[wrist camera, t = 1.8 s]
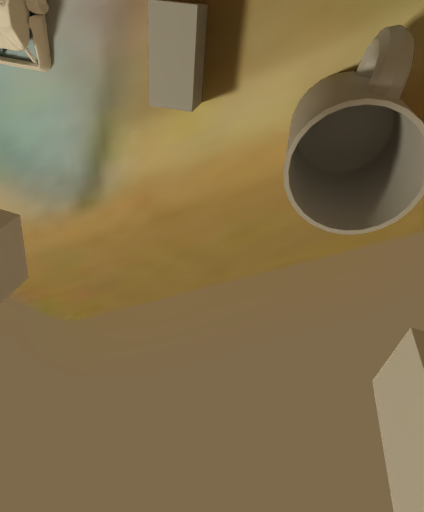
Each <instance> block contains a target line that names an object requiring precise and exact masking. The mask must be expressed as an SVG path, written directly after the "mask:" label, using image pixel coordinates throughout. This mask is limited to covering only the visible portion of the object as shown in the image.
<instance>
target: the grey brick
mask: <svg viewBox="0 0 424 512" xmlns="http://www.w3.org/2000/svg"><path fill="white" fill-rule="evenodd" d="M207 14H208V4H201V3H192V2H183V1H174V0H148V23H149V106H156V107H162V108H169V109H176V110H182V111H189V112H192V111H193V110H194V109H195V108H196V107H198V106H199V105H200V104H201V103H202V88H203V73H204V59H205V44H206V29H207Z"/></svg>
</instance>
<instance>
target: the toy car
mask: <svg viewBox="0 0 424 512" xmlns="http://www.w3.org/2000/svg"><path fill="white" fill-rule="evenodd" d="M48 10H49V6H48V4H47V0H0V48H5V49H9V50H14V51H21V50H25V51H26V53H27V54H28V56H29V57H30V58H31V60H32V61H33V62H30V61H24V60H19V59H13V58H7V57H2V56H0V64H5V65H10V66H16V67H20V68H27V69H32V70H38V71H43V72H46V71H48V70H50V69H51V57H50V49H49V42H48V34H47V25H46V18H45V15H44V14H46V13H47V12H48ZM30 11H31V12H33V13H35V14H36V15H33V16H31V17H30ZM30 28H31V30H32V33H33V39H34V45H35V49H36V53H37V58H38V62H37V61H36V59H35V58H34V57H33V55H32V54H31V52H30V51H29V50H28V48H27V46H28V44H29V38H30V36H29V29H30Z"/></svg>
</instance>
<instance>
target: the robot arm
mask: <svg viewBox="0 0 424 512" xmlns="http://www.w3.org/2000/svg"><path fill="white" fill-rule="evenodd" d="M27 278H28V271H27V263H26V256H25V249H24V241H23V234H22V227H21V219H20V215H18V214H15V213H12V212H8V211H5V210H1V209H0V304H1V303H2V302H3V301H4V300H5V299H6V298H7V297H9V296H10V295H11V294H12V293H13V292H14V291H15V290H16V289H17V288H18V287H19V286H20V285H21V284H22V283H23V282H24V281H25V280H26V279H27ZM372 382H373V388H374V394H375V400H376V407H377V413H378V419H379V425H380V431H381V437H382V443H383V449H384V456H385V462H386V468H387V474H388V480H389V486H390V492H391V498H392V504H393V511H394V512H424V331H421V330H418V329H414V328H410V329H409V331H408V332H407V333H406V335H405V336H404V338H403V339H402V340H401V342H400V343H399V345H398V346H397V347H396V349H395V350H394V352H393V353H392V354H391V356H390V357H389V359H388V360H387V362H386V363H385V364H384V365H383V367H382V368H381V370H380V371H379V372H378V374H377V375H376V377H375V378H374V379H373V381H372Z"/></svg>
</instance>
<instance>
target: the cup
mask: <svg viewBox="0 0 424 512" xmlns="http://www.w3.org/2000/svg"><path fill="white" fill-rule="evenodd" d="M413 55H414V38H413V36H412V34H411V33H410V32H409V31H408V30H407V29H406V28H405V27H404V26H401V25H396V26H391V27H386V28H384V29H383V30H381V31H380V32H379V34H378V35H377V36H376V37H375V38H374V40H373V41H372V42H371V43H370V45H369V46H368V48H367V49H366V51H365V53H364V55H363V57H362V59H361V62H360V64H359V66H358V69H357V71H356V72H354V71H349V72H342V73H336V74H334V75H331V76H329V77H327V78H324V79H322V80H321V81H319V82H318V83H317V84H315V85H314V86H313V87H311V88H310V89H309V90H308V91H307V92H306V94H305V95H304V96H303V97H302V99H301V100H300V101H299V103H298V105H297V107H296V110H295V112H294V114H293V116H292V121H291V126H290V131H289V138H288V144H287V151H286V157H285V164H284V170H283V175H284V187H285V190H286V193H287V196H288V198H289V201H290V203H291V205H292V206H293V207H294V208H295V210H296V211H297V212H298V214H299V215H300V216H301V217H302V218H304V219H305V220H306V221H308V222H309V223H310V224H312V225H313V226H316V227H318V228H320V229H323V230H325V231H327V232H332V233H338V234H344V235H348V234H364V233H368V232H372V231H375V230H379V229H382V228H384V227H386V226H388V225H390V224H392V223H394V222H396V221H398V220H399V219H400V218H402V217H403V216H404V215H405V214H407V213H408V212H409V211H410V210H412V209H413V208H414V207H415V205H416V204H417V203H418V201H419V200H420V199H421V198H422V196H423V195H424V123H423V122H422V121H421V120H420V119H419V117H418V116H417V115H416V114H415V113H414V112H413V111H412V110H411V109H410V108H409V107H408V106H407V105H406V104H405V103H404V101H403V100H402V99H401V98H400V96H401V94H402V92H403V89H404V87H405V85H406V82H407V80H408V77H409V75H410V71H411V67H412V63H413Z"/></svg>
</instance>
